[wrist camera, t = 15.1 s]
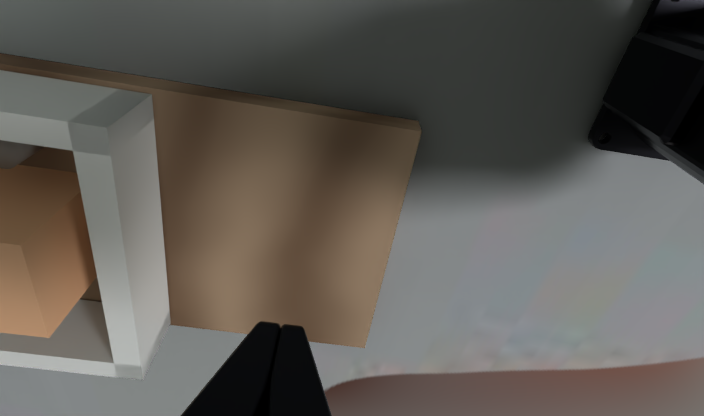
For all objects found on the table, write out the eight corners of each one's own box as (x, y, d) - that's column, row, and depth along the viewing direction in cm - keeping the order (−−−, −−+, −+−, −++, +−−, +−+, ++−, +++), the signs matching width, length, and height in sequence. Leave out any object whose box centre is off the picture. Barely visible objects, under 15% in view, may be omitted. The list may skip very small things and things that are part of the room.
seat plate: (418, 120, 18) (428, 152, 16) (364, 331, 25) (365, 378, 22) (-68, 42, 17) (-150, 61, 14) (14, 288, 24) (-31, 333, 21)
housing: (151, 94, 17) (106, 127, 14) (170, 323, 23) (143, 380, 20) (-70, 58, 16) (-168, 85, 13) (14, 304, 22) (-38, 360, 20)
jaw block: (97, 175, 19) (20, 245, 14) (112, 257, 21) (49, 338, 17) (-12, 160, 18) (-125, 227, 14) (15, 245, 21) (-75, 324, 16)
